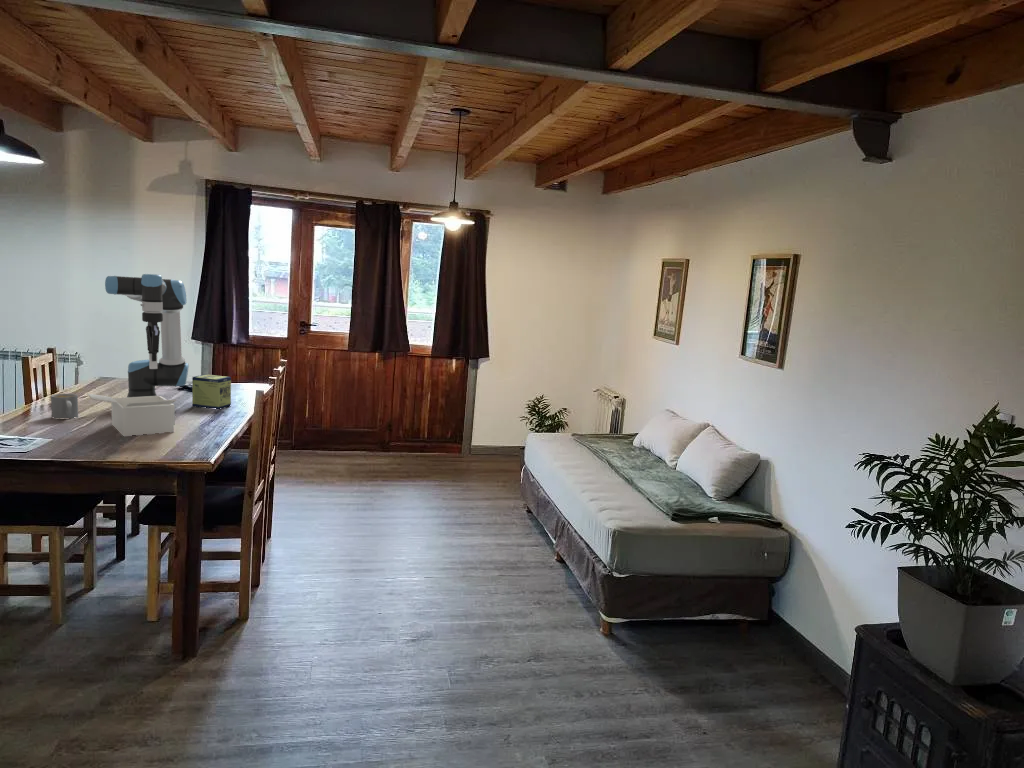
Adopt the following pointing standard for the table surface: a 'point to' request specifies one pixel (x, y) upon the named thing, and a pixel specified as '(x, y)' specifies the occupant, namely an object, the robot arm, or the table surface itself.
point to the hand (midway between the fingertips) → (153, 368)
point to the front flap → (150, 402)
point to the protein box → (211, 391)
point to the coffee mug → (64, 405)
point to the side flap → (102, 398)
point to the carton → (142, 416)
